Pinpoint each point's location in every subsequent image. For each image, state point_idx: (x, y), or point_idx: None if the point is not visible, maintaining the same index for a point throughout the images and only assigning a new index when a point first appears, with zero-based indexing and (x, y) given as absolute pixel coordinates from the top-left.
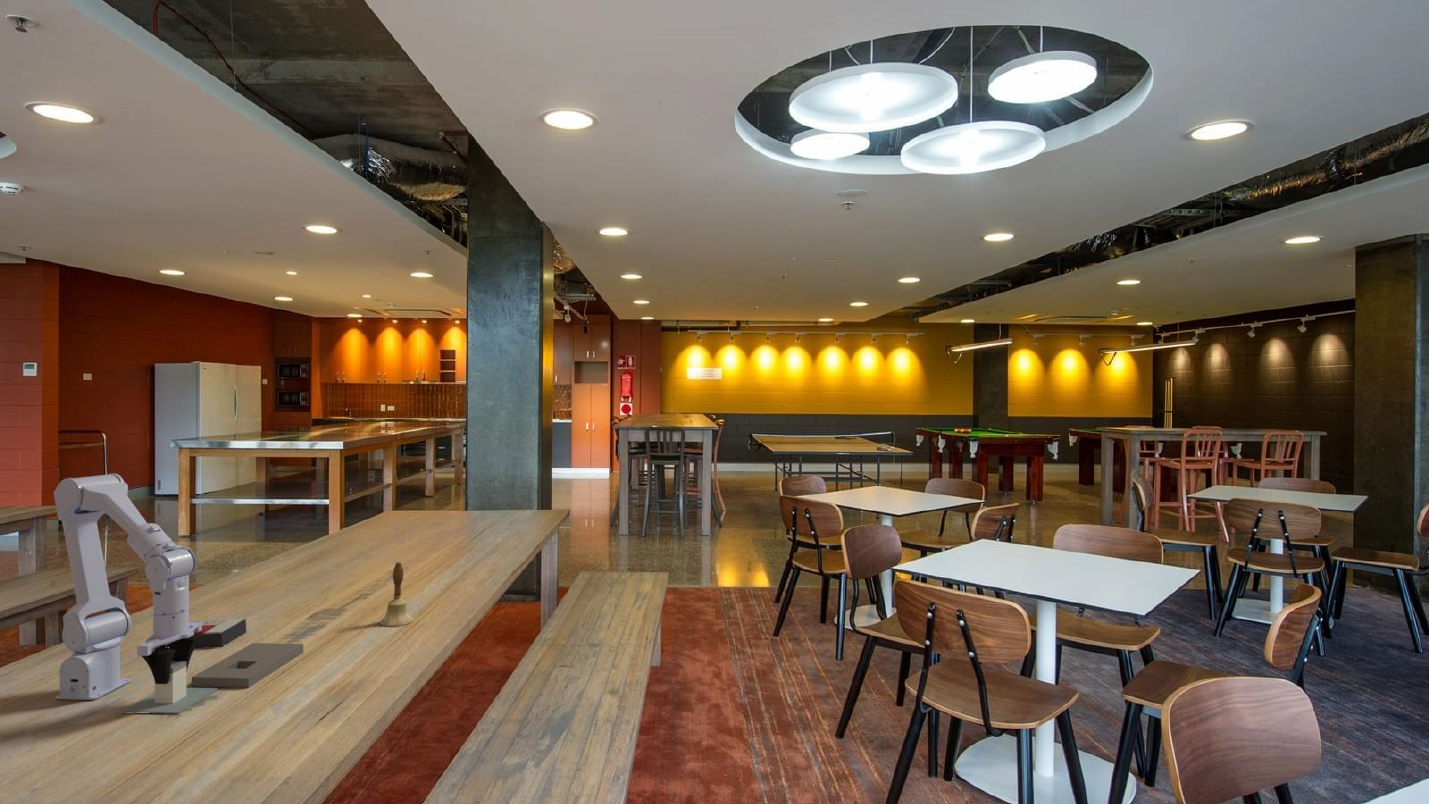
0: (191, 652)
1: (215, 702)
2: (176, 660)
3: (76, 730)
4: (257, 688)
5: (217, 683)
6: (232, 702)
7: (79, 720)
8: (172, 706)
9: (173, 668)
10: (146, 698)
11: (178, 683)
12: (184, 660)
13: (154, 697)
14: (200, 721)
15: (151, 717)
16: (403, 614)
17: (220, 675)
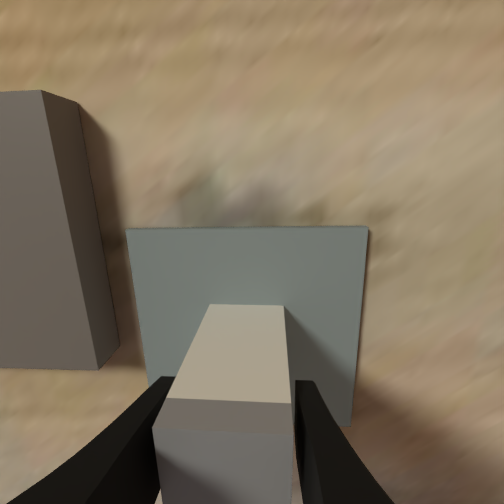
0: (64, 476)
1: (241, 149)
2: (146, 492)
3: (471, 459)
4: (72, 50)
5: (93, 254)
6: (235, 62)
7: (395, 491)
8: (311, 288)
9: (286, 431)
10: None
11: (246, 346)
12: (138, 448)
13: None
14: (447, 67)
15: (386, 307)
16: None
17: (51, 265)
